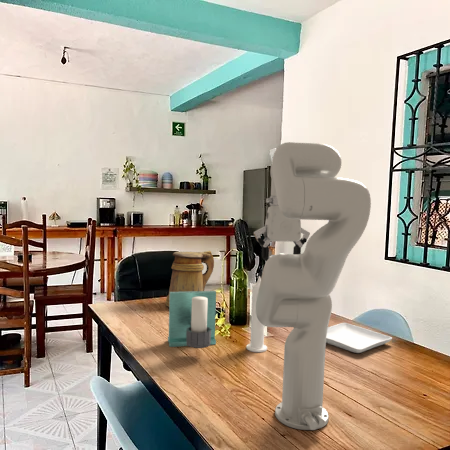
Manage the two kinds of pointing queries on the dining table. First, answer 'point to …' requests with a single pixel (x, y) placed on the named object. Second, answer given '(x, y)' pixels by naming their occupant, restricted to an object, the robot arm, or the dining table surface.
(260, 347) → the candle
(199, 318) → the white cylinder
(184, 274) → the tankard
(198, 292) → the cup bracket
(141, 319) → the dining table surface
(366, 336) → the salad plate
